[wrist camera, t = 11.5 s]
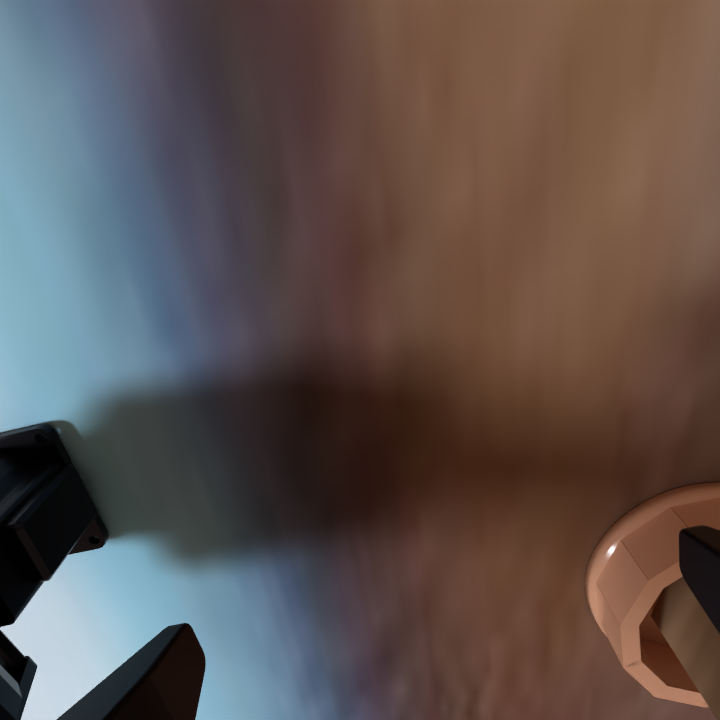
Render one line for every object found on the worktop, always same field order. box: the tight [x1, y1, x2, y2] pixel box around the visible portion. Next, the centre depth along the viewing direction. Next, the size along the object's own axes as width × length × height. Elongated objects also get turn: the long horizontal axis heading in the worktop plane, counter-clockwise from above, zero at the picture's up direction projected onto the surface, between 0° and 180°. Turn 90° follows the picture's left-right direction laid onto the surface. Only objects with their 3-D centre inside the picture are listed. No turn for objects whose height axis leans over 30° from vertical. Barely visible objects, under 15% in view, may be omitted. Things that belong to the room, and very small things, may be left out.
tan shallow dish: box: [585, 482, 720, 707], centre depth 24 cm, size 10×10×3 cm
